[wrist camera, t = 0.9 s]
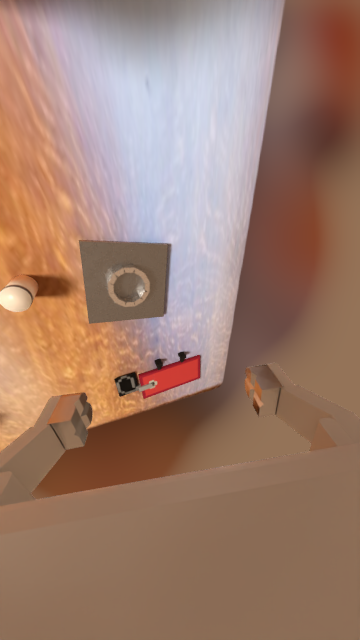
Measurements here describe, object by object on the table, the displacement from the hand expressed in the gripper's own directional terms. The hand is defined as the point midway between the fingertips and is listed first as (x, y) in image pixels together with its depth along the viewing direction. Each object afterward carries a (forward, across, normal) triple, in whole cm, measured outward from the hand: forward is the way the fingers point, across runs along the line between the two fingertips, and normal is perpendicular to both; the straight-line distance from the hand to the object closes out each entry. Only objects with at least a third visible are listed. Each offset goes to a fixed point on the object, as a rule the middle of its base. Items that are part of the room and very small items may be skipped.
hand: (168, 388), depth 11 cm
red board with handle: (+50, +5, +43) cm, 66 cm away
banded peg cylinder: (+40, +30, +4) cm, 50 cm away
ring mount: (+46, +9, +8) cm, 47 cm away
